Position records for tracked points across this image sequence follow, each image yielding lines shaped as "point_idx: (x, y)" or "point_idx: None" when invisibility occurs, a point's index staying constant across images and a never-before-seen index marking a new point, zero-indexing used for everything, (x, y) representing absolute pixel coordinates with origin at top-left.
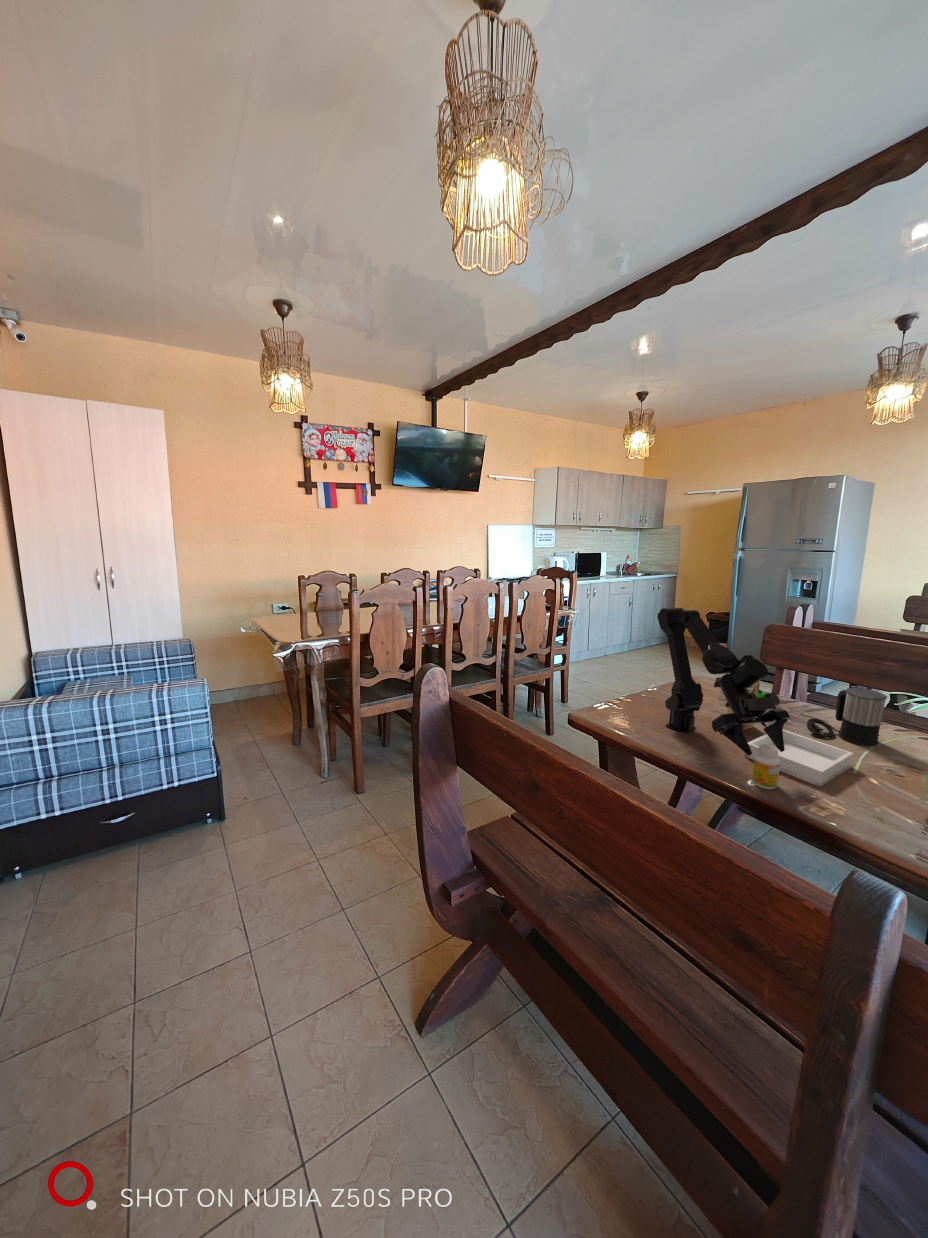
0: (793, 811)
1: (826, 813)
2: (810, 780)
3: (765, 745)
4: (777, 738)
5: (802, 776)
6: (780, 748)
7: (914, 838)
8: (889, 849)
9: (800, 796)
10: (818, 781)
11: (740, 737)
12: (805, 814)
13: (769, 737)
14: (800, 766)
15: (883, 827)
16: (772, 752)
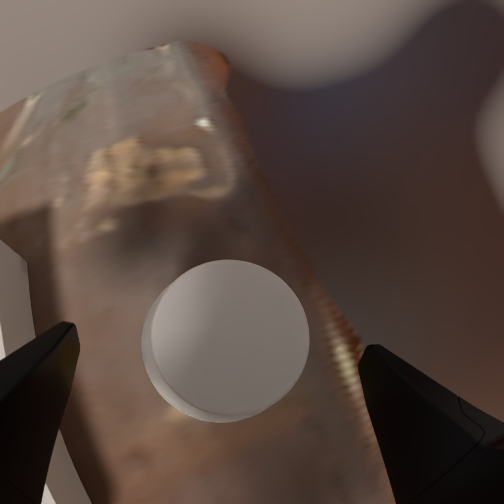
0: (260, 186)
1: (169, 152)
2: (24, 291)
3: (216, 389)
4: (27, 404)
5: (26, 318)
6: (69, 352)
7: (95, 68)
8: (182, 60)
9: (149, 238)
10: (18, 262)
11: (480, 412)
12: (237, 166)
13: (44, 485)
14: (6, 325)
15: (103, 93)
16: (260, 266)
